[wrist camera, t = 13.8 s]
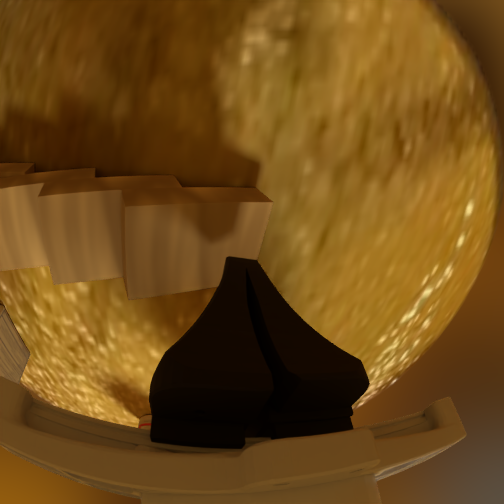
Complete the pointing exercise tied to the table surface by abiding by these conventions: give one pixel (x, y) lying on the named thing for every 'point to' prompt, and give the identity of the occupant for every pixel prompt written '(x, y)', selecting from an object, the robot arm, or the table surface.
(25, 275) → the table surface
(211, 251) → the domino
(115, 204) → the domino
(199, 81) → the table surface
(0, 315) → the medicine box
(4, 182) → the domino
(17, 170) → the domino
